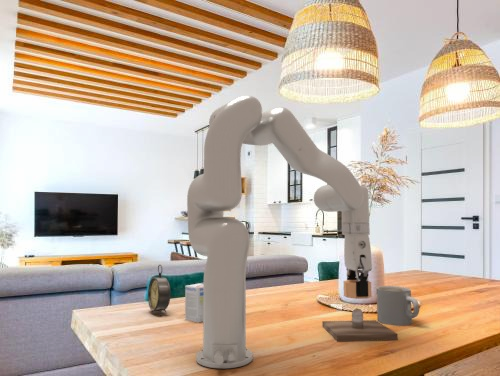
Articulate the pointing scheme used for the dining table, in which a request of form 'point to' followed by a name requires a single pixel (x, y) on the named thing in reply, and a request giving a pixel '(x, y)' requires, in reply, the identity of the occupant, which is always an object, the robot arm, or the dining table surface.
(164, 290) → the alarm clock
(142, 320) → the dining table surface
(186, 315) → the light bulb box
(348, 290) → the ring
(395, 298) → the coffee mug
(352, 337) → the post base
